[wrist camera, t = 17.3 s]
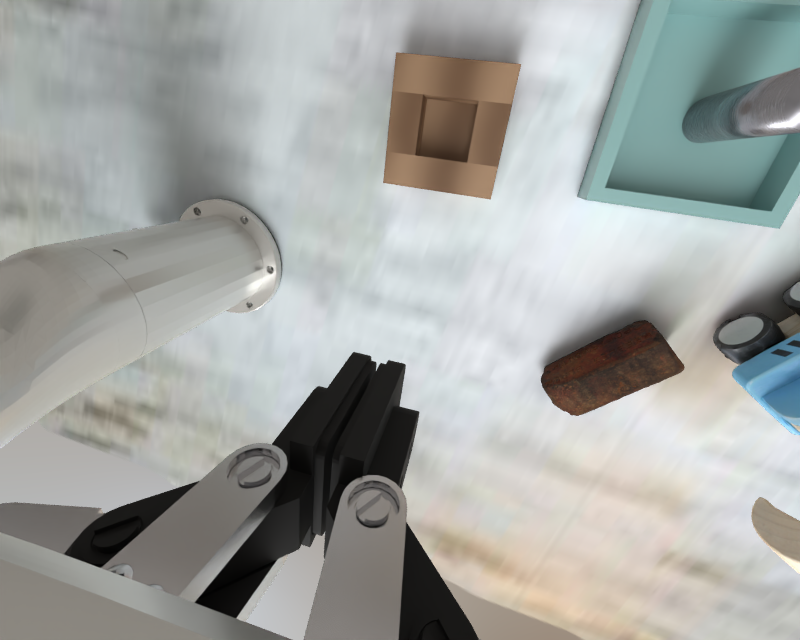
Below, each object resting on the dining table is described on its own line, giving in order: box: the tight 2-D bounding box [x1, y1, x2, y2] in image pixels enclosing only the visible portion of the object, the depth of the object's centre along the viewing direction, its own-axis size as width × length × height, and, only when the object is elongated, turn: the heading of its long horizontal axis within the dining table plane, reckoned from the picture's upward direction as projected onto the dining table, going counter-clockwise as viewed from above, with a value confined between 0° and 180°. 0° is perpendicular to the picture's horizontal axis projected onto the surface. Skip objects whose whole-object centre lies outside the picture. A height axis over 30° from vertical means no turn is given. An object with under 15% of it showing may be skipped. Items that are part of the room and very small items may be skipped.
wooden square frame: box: [383, 53, 521, 199], centre depth 28 cm, size 9×9×3 cm
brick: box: [541, 320, 685, 416], centre depth 33 cm, size 11×4×5 cm, turn 131°
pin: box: [682, 67, 800, 143], centre depth 21 cm, size 3×3×10 cm
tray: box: [577, 0, 800, 228], centre depth 24 cm, size 13×13×3 cm
